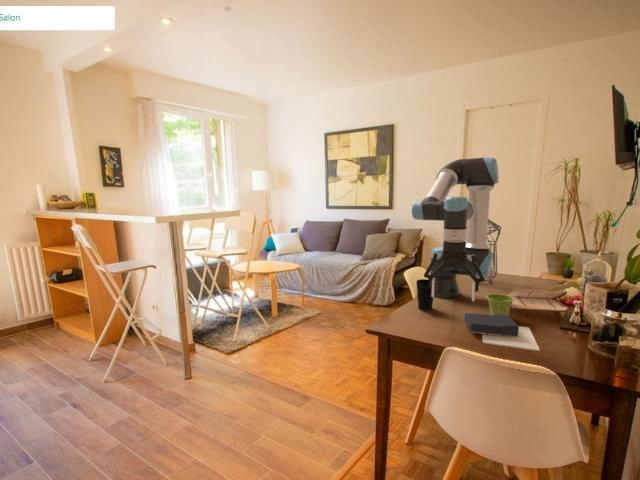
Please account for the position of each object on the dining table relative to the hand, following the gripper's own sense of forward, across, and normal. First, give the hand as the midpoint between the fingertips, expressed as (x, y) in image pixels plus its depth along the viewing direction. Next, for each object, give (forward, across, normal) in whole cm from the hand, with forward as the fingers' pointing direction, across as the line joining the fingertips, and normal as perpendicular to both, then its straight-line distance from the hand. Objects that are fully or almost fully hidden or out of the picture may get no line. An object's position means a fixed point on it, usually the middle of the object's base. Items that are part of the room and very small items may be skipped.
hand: (452, 298), depth 119 cm
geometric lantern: (+12, +14, +69) cm, 71 cm away
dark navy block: (+9, +5, +1) cm, 10 cm away
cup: (+12, -11, +18) cm, 24 cm away
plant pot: (+12, +17, +16) cm, 26 cm away
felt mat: (+12, +18, 0) cm, 21 cm away
